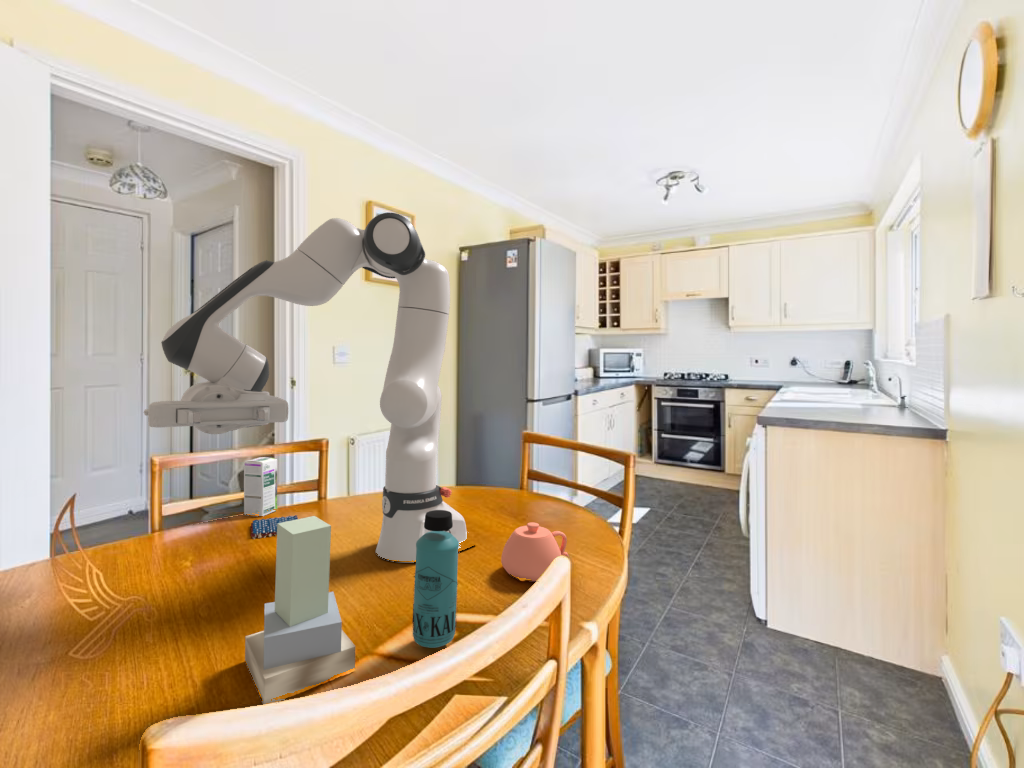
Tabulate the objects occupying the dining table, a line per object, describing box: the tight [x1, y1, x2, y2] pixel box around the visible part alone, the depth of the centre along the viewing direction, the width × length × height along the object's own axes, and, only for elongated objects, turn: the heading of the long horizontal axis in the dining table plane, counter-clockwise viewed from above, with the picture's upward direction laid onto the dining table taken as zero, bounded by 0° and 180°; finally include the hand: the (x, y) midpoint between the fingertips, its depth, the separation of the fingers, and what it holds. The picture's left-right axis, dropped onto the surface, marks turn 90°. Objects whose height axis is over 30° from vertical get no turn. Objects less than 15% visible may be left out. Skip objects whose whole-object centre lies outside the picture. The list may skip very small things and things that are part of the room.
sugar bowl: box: [500, 522, 570, 582], centre depth 95 cm, size 12×14×10 cm
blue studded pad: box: [249, 515, 299, 540], centre depth 114 cm, size 10×11×2 cm
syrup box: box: [243, 456, 278, 517], centre depth 126 cm, size 6×6×14 cm
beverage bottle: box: [411, 510, 459, 649], centre depth 69 cm, size 6×7×20 cm
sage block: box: [274, 515, 332, 627], centre depth 63 cm, size 5×5×12 cm
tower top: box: [263, 591, 343, 670], centre depth 64 cm, size 9×9×4 cm
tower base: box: [244, 629, 356, 705], centre depth 64 cm, size 11×11×4 cm
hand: (230, 417), depth 75 cm, fingers open, 8 cm apart
